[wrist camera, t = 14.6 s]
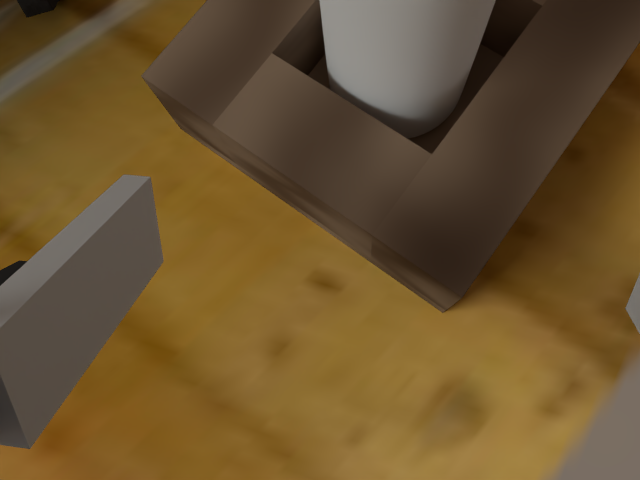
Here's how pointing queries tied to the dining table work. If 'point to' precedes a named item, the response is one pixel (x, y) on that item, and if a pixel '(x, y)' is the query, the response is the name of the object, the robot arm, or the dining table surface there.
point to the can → (403, 56)
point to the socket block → (383, 142)
